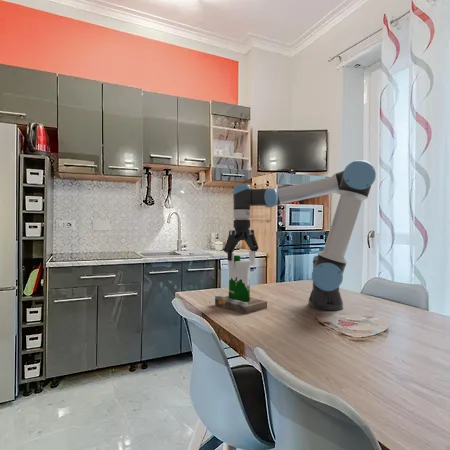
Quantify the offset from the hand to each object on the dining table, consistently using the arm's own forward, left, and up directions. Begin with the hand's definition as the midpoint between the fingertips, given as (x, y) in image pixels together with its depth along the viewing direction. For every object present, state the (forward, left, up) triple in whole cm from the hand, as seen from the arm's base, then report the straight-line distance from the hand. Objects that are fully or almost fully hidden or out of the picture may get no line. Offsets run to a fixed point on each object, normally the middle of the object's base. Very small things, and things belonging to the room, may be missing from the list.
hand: (241, 266), depth 147 cm
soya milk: (0, +1, -15) cm, 15 cm away
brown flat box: (0, 0, -18) cm, 18 cm away
